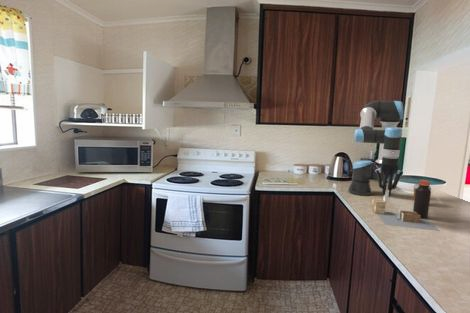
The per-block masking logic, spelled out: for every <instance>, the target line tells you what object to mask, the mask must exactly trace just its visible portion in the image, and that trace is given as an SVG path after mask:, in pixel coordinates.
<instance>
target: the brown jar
mask: <svg viewBox="0 0 470 313" xmlns="http://www.w3.org/2000/svg"><path fill="white" fill-rule="evenodd" d="M412 187H413V201H414V200H415V192H416V189H417V188H418V187H419V183H414V184H413V186H412ZM429 189H430V190H431V191H432V186H429Z"/></svg>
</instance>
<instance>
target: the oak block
mask: <svg viewBox="0 0 470 313" xmlns="http://www.w3.org/2000/svg"><path fill="white" fill-rule="evenodd" d="M386 203H387V202H384V200H383V199H382V198H372V203H371V210H370V211H371V212H372V213H373V214H375V215H378V214H385V212H386Z"/></svg>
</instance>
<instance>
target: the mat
mask: <svg viewBox="0 0 470 313" xmlns="http://www.w3.org/2000/svg"><path fill="white" fill-rule="evenodd" d="M377 216H378V217H379V218H380V221H382V222H383V224H384V226H385V225H386V226H392V227H399V228H401V227H403V228H409V229H418V230H419V229H420V230H426V231H427V230H429V231H437V232H440V231H441V230H440V229H439V228H438V227H437V226H435V225H434V224H433V223H431V222H430V221H429V220H428V218H426V219H421V218H420V223H413V222H404V221H401V220H400V218H399V212H392V211H385V214H377Z"/></svg>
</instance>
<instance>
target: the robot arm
mask: <svg viewBox="0 0 470 313" xmlns="http://www.w3.org/2000/svg"><path fill="white" fill-rule="evenodd" d="M359 116H360V123H359V128H357V129H355V131H354V142H356V143H362V144H363V143H366V144H367V143H369V144H379V150H378V158H377V159H376V160H375V163H373V162H372V160H356V161H355V162H353V166H352V176H351V183H350V184H349V187H348V190H347V191H348V193H350V194H352V195H357V196H363V197H365V196H366V197H367V196H372V192H373V191H372V188H371V184H370V183H371V182H370V181H377V182H378V187H379V188H380V189H382V191H381V194H382V195H383V199H382V200H383V201H384V202H386V203H388V201H389V196H391V194H392V190H395V189H396V188H397V186H398V184H399V181H400V178H401V176H402V175H403V174H404V172H403V171H402V170H400V169H399V162H400V160H399V157H400V152H401V144H402V143H401V142H402V136H403V128H401V127H398V124H399V123H400V122H401V120H404V104H403V102H402V101H400V100H375V101H371V102H368V103H366V104H365V105H364V106H363V107H362V109H361V110H360V112H359ZM376 119H378V120H379V122H380V123H381V129H374V128H375V120H376Z"/></svg>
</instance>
